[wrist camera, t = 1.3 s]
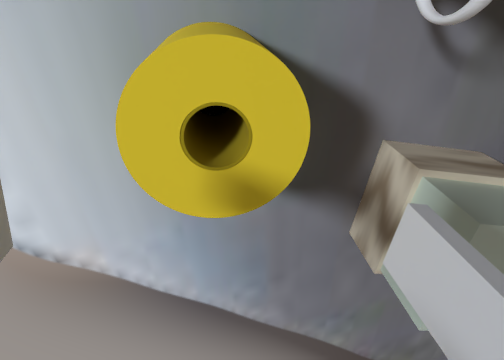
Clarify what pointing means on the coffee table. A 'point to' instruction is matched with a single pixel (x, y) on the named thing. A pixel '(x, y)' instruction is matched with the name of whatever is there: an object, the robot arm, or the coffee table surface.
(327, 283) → the coffee table surface
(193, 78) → the yellow hollow cylinder
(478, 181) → the base block
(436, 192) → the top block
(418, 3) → the mug
